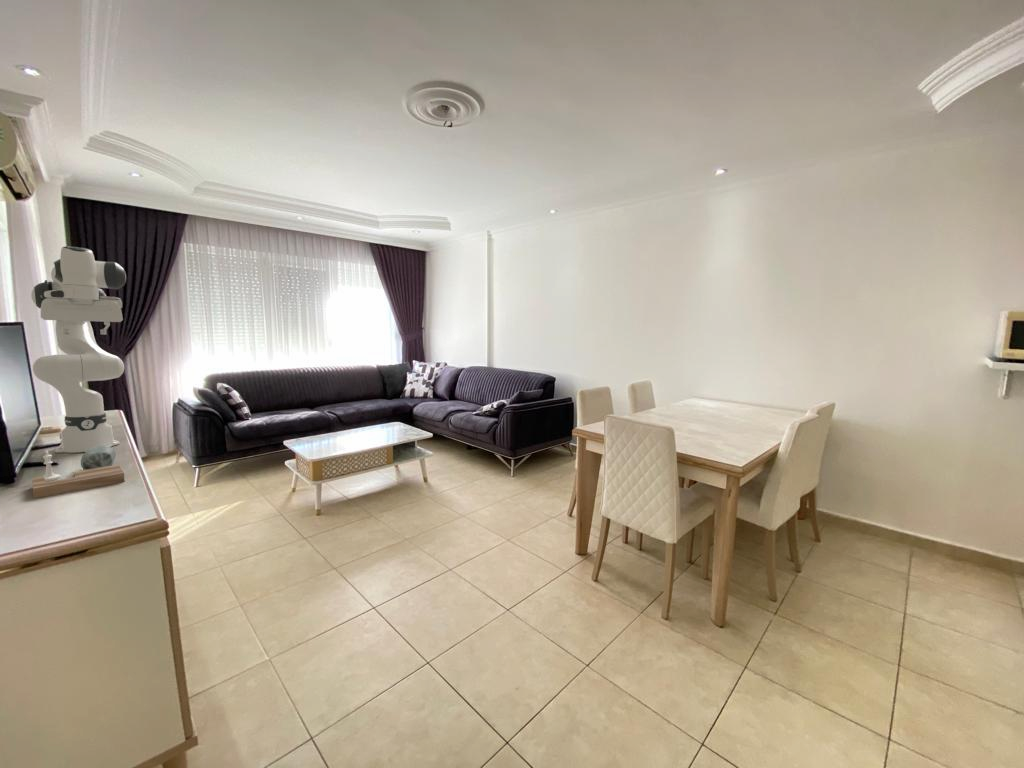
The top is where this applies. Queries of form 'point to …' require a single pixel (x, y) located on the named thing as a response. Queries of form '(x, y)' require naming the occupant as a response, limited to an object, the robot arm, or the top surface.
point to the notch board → (78, 481)
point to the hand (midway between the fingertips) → (85, 334)
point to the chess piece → (49, 469)
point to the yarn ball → (98, 457)
